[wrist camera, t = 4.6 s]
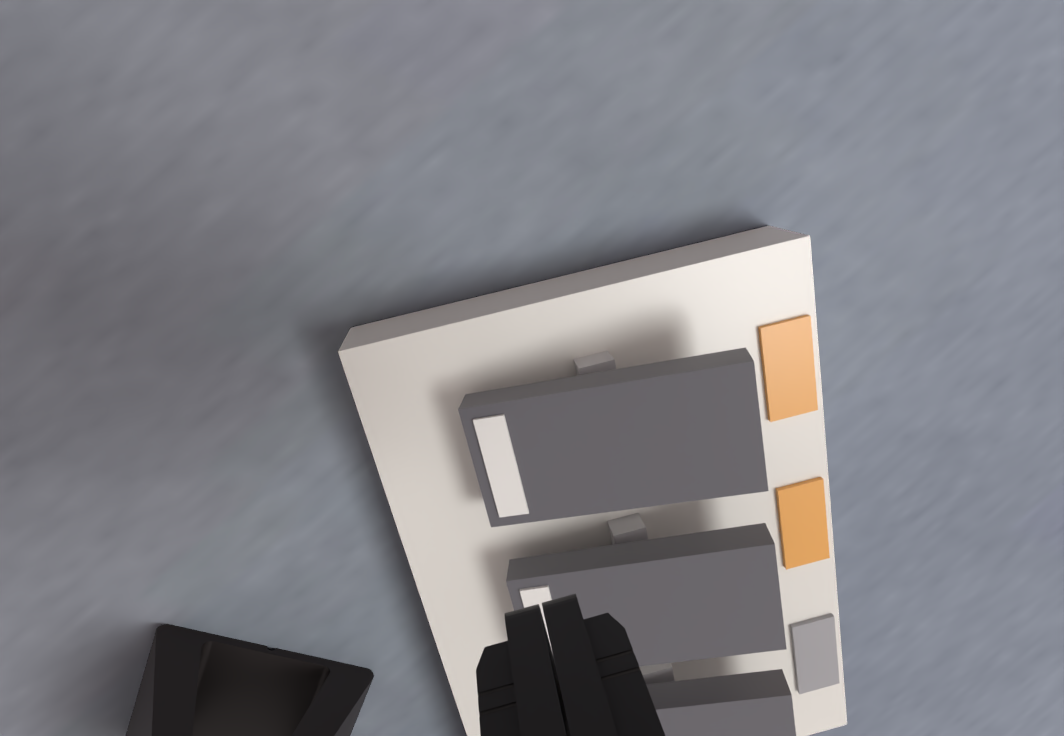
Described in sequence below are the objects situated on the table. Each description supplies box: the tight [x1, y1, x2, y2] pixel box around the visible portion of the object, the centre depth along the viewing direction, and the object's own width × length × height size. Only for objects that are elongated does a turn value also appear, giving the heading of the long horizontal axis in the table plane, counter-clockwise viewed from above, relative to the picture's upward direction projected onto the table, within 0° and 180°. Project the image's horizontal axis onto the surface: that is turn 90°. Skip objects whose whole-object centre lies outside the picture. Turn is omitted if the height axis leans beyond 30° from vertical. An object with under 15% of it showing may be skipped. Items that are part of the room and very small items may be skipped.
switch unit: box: [338, 226, 847, 736], centre depth 26 cm, size 22×16×4 cm
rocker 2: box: [506, 523, 787, 667], centre depth 23 cm, size 4×9×1 cm, turn 103°
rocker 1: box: [458, 347, 768, 527], centre depth 21 cm, size 4×9×1 cm, turn 103°
